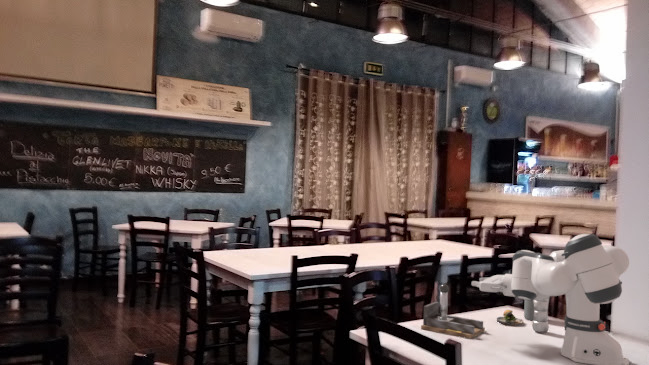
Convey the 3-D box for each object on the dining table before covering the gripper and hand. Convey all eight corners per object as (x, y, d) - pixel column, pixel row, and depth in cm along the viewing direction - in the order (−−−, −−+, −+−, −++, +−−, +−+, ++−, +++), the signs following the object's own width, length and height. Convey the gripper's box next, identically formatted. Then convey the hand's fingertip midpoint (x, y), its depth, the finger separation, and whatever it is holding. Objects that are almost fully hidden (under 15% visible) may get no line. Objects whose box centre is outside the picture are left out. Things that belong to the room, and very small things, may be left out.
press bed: (484, 330, 232) (485, 308, 232) (470, 338, 219) (471, 315, 219) (436, 322, 245) (437, 301, 245) (421, 329, 232) (421, 306, 232)
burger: (505, 327, 240) (506, 310, 240) (491, 320, 252) (491, 304, 252) (529, 326, 243) (529, 309, 243) (514, 320, 254) (514, 304, 254)
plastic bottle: (540, 334, 228) (542, 287, 228) (528, 330, 235) (529, 284, 235) (552, 333, 231) (553, 286, 231) (539, 329, 237) (541, 283, 237)
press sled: (454, 324, 235) (455, 284, 236) (447, 327, 229) (448, 286, 229) (439, 321, 240) (440, 282, 240) (431, 324, 233) (433, 284, 234)
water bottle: (545, 317, 260) (546, 259, 260) (548, 322, 250) (550, 261, 250) (522, 315, 262) (524, 258, 262) (525, 320, 252) (527, 260, 253)
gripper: (501, 297, 210) (467, 293, 218) (516, 288, 226) (484, 285, 234) (501, 281, 210) (467, 277, 218) (516, 273, 226) (484, 270, 234)
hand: (476, 281), depth 226 cm, fingers open, 8 cm apart
